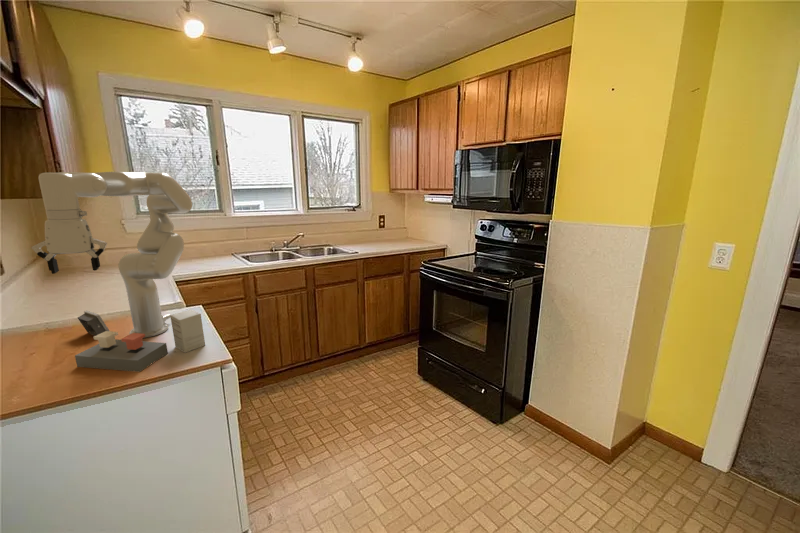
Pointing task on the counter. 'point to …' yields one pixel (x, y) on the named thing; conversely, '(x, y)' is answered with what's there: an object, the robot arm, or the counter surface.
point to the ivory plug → (106, 338)
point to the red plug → (133, 340)
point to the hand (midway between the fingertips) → (76, 271)
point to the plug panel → (121, 356)
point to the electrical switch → (93, 323)
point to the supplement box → (187, 330)
